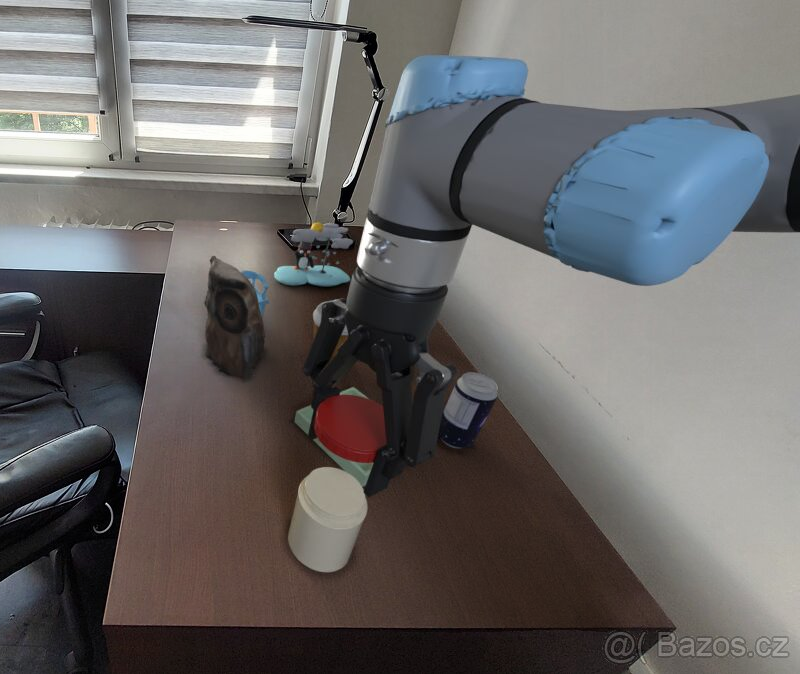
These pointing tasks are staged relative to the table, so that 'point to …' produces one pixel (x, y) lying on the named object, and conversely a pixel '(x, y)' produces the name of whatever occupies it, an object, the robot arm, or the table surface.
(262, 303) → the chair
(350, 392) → the tray
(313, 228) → the penguin figurine
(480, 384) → the beverage can
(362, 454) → the jar lid
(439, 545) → the table surface
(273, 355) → the table surface
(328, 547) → the jar
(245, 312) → the owl
